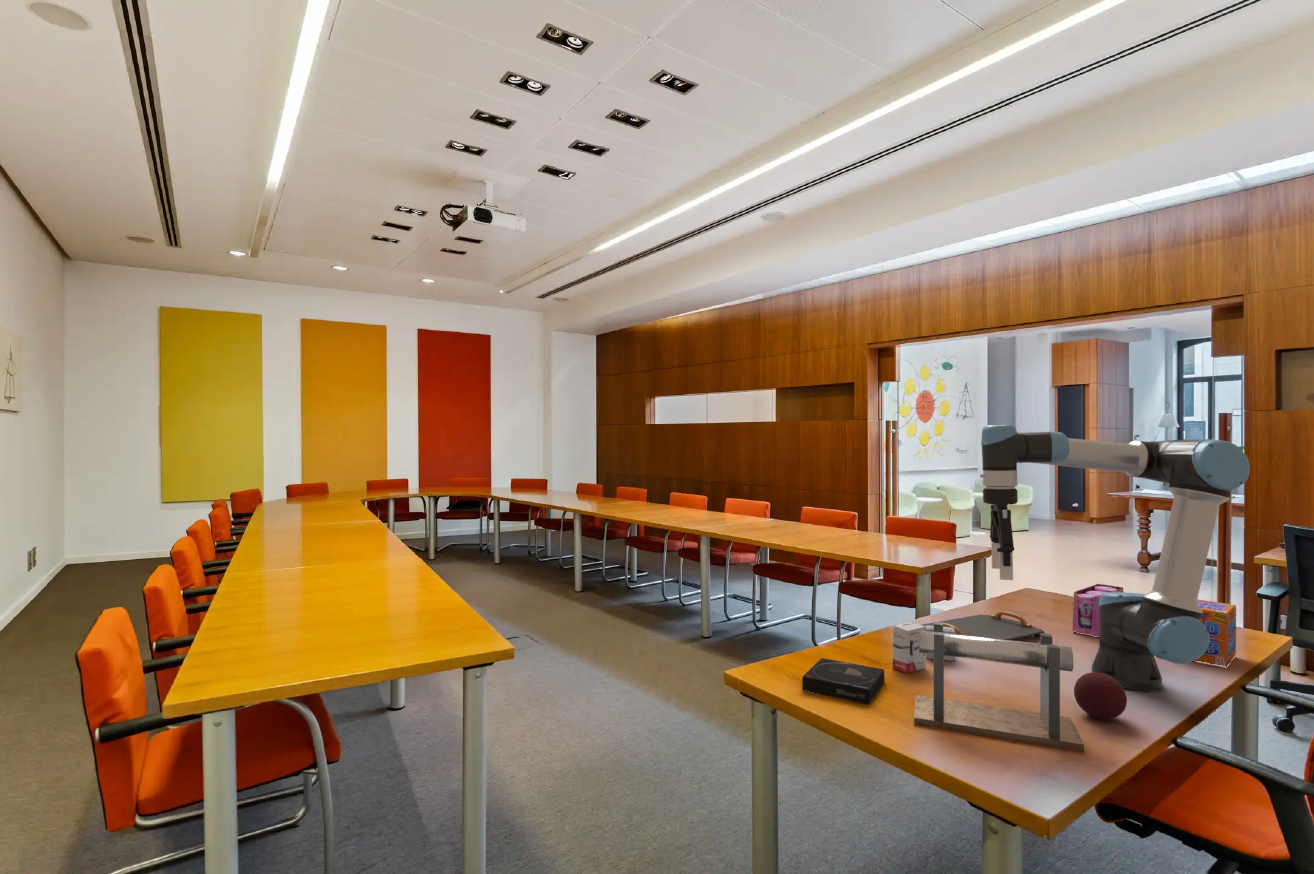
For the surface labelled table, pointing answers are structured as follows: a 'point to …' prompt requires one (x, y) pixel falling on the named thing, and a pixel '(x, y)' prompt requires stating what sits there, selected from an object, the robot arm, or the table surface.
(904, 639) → the ink box
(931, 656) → the medicine box
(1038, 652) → the steel rod
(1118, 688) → the decorative ball
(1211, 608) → the game box
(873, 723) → the table surface
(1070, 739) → the bracket rack
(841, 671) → the portable cd player
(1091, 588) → the gum box
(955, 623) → the serving board
